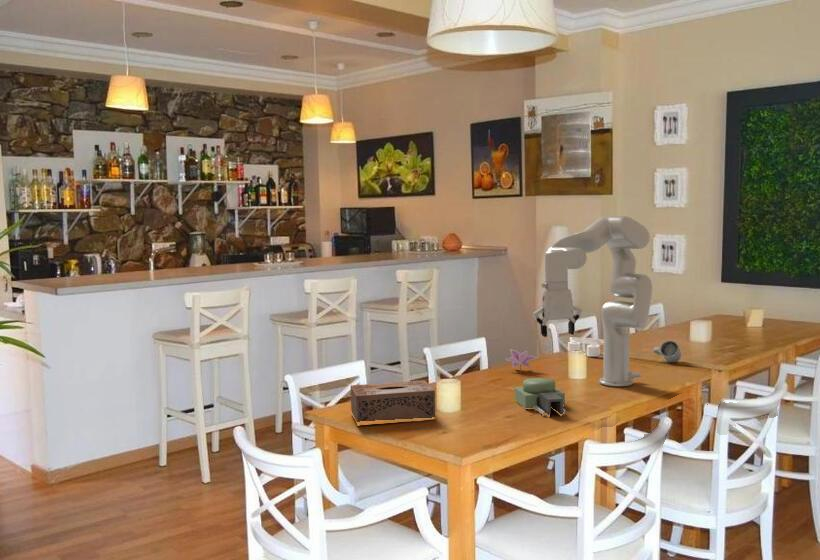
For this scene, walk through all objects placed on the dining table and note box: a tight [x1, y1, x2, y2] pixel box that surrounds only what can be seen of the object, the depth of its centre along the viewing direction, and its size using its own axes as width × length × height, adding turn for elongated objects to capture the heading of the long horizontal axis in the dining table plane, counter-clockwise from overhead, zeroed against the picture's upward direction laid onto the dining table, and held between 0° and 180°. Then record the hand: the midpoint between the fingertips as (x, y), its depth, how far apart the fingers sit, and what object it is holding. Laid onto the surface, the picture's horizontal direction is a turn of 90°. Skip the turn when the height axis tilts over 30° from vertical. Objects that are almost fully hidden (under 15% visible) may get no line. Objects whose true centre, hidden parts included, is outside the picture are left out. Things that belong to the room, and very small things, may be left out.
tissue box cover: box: [350, 379, 436, 422], centre depth 252 cm, size 26×14×10 cm, turn 102°
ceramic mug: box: [653, 340, 682, 364], centre depth 326 cm, size 11×8×8 cm
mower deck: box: [514, 377, 567, 414], centre depth 259 cm, size 14×21×8 cm, turn 9°
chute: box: [539, 392, 564, 415], centre depth 252 cm, size 5×9×6 cm, turn 9°
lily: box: [505, 348, 538, 374], centre depth 315 cm, size 12×12×10 cm
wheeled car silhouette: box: [567, 336, 604, 358], centre depth 344 cm, size 20×11×7 cm, turn 37°
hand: (557, 335), depth 261 cm, fingers open, 9 cm apart
